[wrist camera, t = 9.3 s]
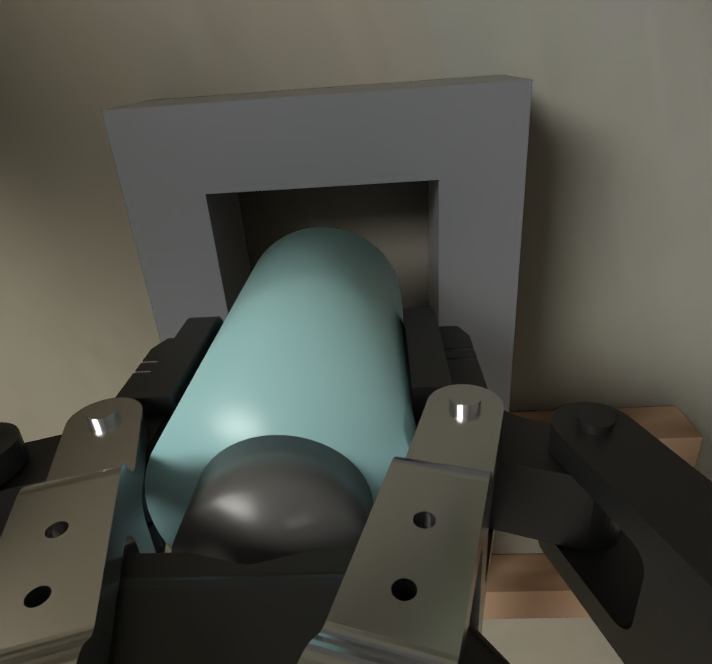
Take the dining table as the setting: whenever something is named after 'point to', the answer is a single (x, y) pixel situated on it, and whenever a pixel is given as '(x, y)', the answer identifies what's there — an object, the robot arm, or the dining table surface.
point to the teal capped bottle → (289, 408)
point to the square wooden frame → (534, 571)
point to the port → (333, 168)
